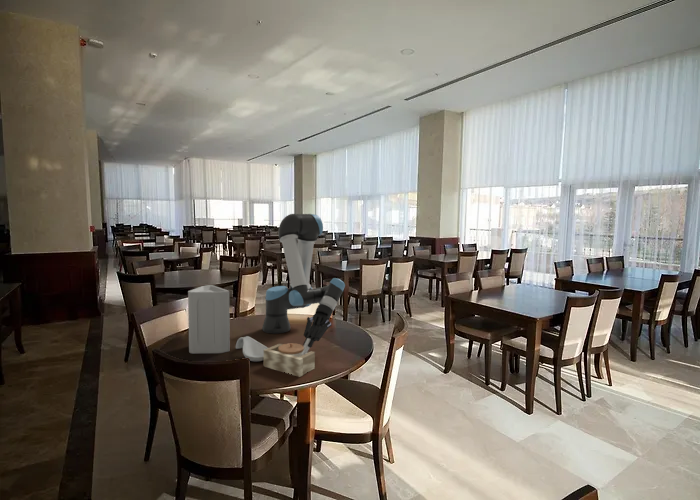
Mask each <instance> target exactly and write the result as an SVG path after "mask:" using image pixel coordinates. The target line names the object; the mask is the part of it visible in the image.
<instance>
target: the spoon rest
mask: <svg viewBox="0 0 700 500" xmlns="http://www.w3.org/2000/svg"><path fill="white" fill-rule="evenodd" d="M267 348H268V347H267V346H266V345H264V344H262V343H261V342H259V341H257V340H256V339H254V338H252V337H251V336H249V335H246V336H243V337H242V336H241V337H239V338H238V339H237V341H236V344H235V349H236V350H240V349H242V354H243V356H244V358H245V359H246V358H249V359H250V360H249V361H250V362H255V363H257V362H258V363H259V362H262V361H264V350H265V349H267Z"/></svg>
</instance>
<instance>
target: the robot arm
mask: <svg viewBox="0 0 700 500" xmlns="http://www.w3.org/2000/svg"><path fill="white" fill-rule="evenodd" d="M323 231H324V223H323V221H322V219H321V217H320V216H319V215H317V214H314V213H313V214H312V213H290V214H288V215H286V216H284V218H283V219H282V220H281V222H280V223H279V227H278V232H277V233H278V234H277V235H278V241H279V242H280V243H282V249H283V254H284V257H285V262H286V267H287V271H288V277H289V280H290V284H289V288H288V287H287V286H285V285H277V286H272V287H269V288H268V289H267V290H265V291H266V292H265V317H264V321H263V324H262V329H261V330H262V331H263V332H264V333H267V334H274V335H275V334H283V333H288V332H290V331H291V324H290V320H289V317H288V310H294V309H295V310H296V309H303V308H308V307H310V306H311V305H315V304H318V306H317V307H316V308H315V309H316V310H315V312H314V314H313V315H312V317H309V316H307V318H306V321H307V322H306V324H305V325H306V326H305V329H304V332H303V336H304V337H305V340H304V341H303V346H304V353H303V355H304V354H306V353H308V352H309V351H310V348H312V347H313V345H314V343H315V342H316V341H317V342H319V341H320V340H321V339H322V337H323V336H324V334H325V333H326V332H327V330H328V329H330V327H332V326H333V325H332V322H331V321H330V318H331V316H332V315H333V314H334V311H335V309H336V306H337V304H338V302H339V300H340V298H341V296H342V294H343V292H344V289H345V287H346V284H345V282H344V281H343V280H341V279H340V278H338V277H337V278H336V277H333V278H332V279H331V280H330V281H329V284H328V285H325V286H323V287H315V288H314V287H312V285H311V284H310V276H311V268H312V260H313V253H314V245H315V243H316V242H317V241H318V238H319V236H322V234H323Z"/></svg>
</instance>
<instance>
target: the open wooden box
mask: <svg viewBox="0 0 700 500" xmlns="http://www.w3.org/2000/svg"><path fill="white" fill-rule="evenodd" d="M283 344H284V343H277V344H275V345H273V346H270V347H267V349H265V350H264V360H263V367H265V368H268V369H271V370H275V371H277V372H282V373H284V372H285V374H288V373H289V374H288V375H291V374H292V375H291V376H296V377H298V378H300V377H303V376H304V375H305V374H308V373H309V372H311V371H313V370H315V367H316V366H315V360H316V351H312V350H311V351H310V350H309V351H308V352H307V353H306V354H303V355H302V356H300V357H297V356H293V355H289V354H285V353H281V352H278V347H279V346H281V345H283ZM307 372H308V373H307Z"/></svg>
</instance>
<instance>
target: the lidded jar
mask: <svg viewBox="0 0 700 500" xmlns="http://www.w3.org/2000/svg"><path fill="white" fill-rule="evenodd" d="M282 344H283V345H281V346H279V347H278V352H281V353H285V354H289V355H293V356H297V357H300V356H302V355H304V354H303V353H304V345H302V344H300V343H295V342H290V343H289V342H288V343H282Z"/></svg>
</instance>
